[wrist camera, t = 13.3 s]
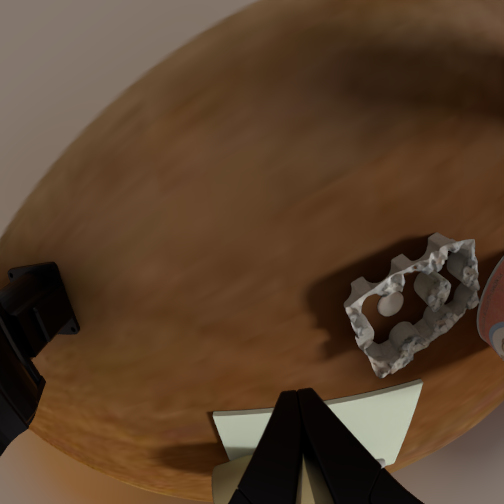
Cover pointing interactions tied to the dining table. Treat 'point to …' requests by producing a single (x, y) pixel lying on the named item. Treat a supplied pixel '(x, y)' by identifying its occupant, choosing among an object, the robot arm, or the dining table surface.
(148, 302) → the dining table surface
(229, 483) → the tan nozzle bottle
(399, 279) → the egg carton
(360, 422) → the mat
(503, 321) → the canned food
